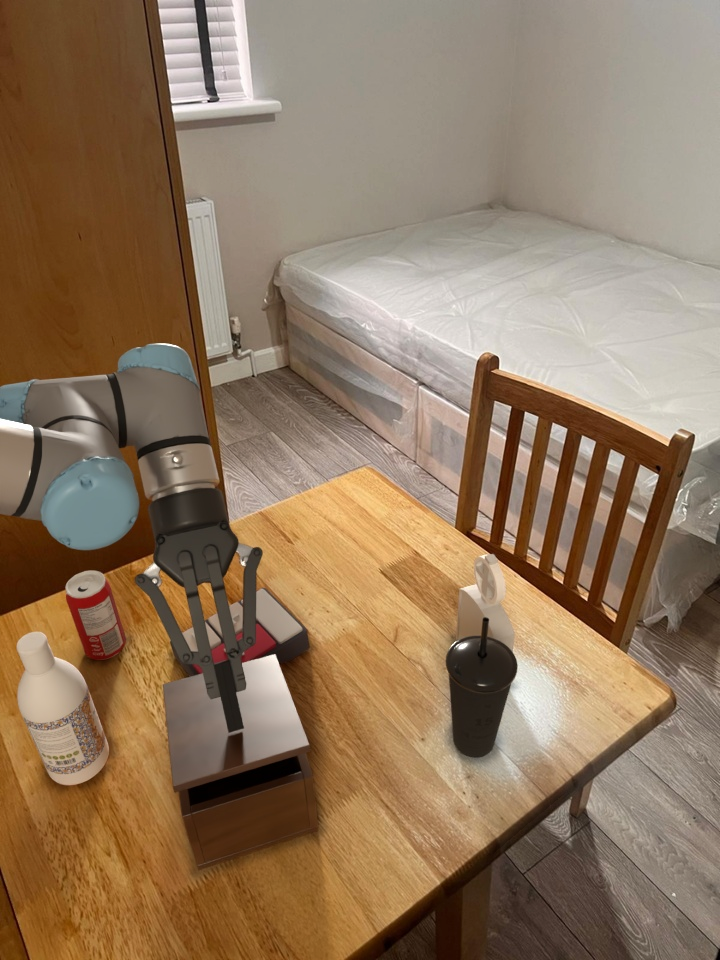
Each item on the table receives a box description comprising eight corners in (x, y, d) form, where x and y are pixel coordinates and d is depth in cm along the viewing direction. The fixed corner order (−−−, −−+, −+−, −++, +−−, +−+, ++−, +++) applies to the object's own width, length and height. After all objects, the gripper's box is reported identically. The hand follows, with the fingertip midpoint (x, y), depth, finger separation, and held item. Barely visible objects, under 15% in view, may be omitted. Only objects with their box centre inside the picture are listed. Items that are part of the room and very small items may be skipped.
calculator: (166, 636, 96) (263, 582, 103) (174, 658, 98) (267, 603, 105) (207, 688, 89) (307, 626, 96) (213, 710, 91) (311, 648, 98)
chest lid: (310, 751, 69) (309, 744, 69) (174, 793, 66) (172, 786, 66) (276, 659, 84) (275, 653, 84) (163, 689, 81) (162, 683, 81)
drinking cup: (430, 724, 88) (435, 604, 77) (486, 705, 90) (500, 585, 79) (459, 778, 82) (470, 656, 71) (518, 756, 84) (538, 634, 73)
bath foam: (116, 769, 84) (73, 650, 73) (54, 798, 81) (-1, 678, 70) (102, 726, 89) (59, 607, 78) (43, 751, 86) (-10, 632, 75)
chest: (318, 830, 78) (312, 775, 72) (197, 871, 74) (182, 816, 69) (283, 714, 90) (276, 659, 84) (178, 744, 87) (163, 689, 81)
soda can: (101, 627, 103) (80, 563, 96) (134, 636, 101) (116, 572, 94) (76, 656, 98) (53, 591, 92) (111, 666, 97) (89, 601, 90)
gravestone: (473, 634, 100) (483, 531, 90) (507, 685, 93) (522, 580, 82) (455, 639, 99) (462, 536, 89) (488, 692, 92) (500, 586, 82)
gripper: (113, 502, 69) (165, 755, 65) (249, 474, 72) (305, 713, 69) (122, 514, 76) (169, 743, 73) (245, 488, 79) (296, 706, 76)
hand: (235, 728), depth 71 cm, fingers closed
